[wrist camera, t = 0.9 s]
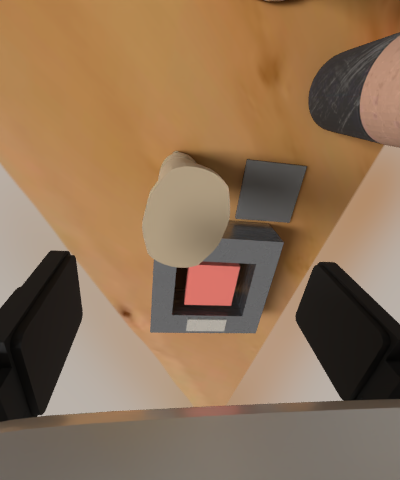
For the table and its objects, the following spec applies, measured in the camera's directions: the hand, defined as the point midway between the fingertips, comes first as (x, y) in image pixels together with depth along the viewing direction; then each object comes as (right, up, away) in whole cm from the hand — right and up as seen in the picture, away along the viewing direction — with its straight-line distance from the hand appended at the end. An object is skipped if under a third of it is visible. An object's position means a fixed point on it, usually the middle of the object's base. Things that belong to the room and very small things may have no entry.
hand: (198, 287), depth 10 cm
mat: (+8, +8, +21) cm, 23 cm away
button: (+1, -3, +22) cm, 22 cm away
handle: (-2, +10, +18) cm, 21 cm away
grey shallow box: (+1, -2, +25) cm, 25 cm away
